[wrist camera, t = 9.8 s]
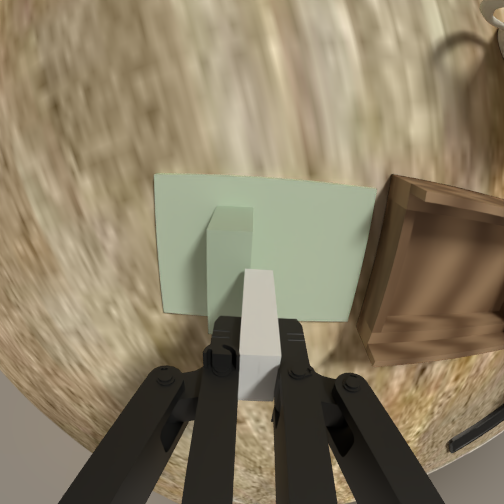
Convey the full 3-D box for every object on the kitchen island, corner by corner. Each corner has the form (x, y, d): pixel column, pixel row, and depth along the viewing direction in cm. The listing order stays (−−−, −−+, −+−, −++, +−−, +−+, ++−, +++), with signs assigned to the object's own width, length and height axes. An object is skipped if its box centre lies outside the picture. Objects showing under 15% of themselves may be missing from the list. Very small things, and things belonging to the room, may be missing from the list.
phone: (511, 414, 35) (450, 454, 38) (509, 411, 36) (449, 450, 39) (515, 398, 32) (449, 443, 36) (513, 394, 33) (447, 438, 37)
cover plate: (166, 305, 24) (148, 349, 19) (158, 172, 20) (127, 190, 15) (344, 314, 25) (361, 358, 20) (371, 186, 20) (405, 208, 15)
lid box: (356, 326, 24) (372, 367, 20) (391, 174, 19) (426, 191, 14) (493, 319, 25) (516, 346, 20) (532, 208, 19) (565, 226, 15)
